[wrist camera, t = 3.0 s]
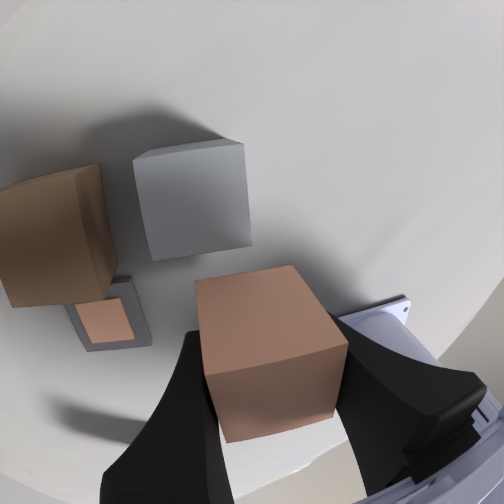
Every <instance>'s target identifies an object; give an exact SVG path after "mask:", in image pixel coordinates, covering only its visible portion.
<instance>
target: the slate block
mask: <svg viewBox="0 0 504 504" xmlns="http://www.w3.org/2000/svg"><path fill="white" fill-rule="evenodd" d="M132 162H133V168H134V175H135V181H136V186H137V192H138V197H139V203H140V208H141V213H142V218H143V223H144V228H145V232H146V237H147V241H148V246H149V250H150V254H151V258H152V262H154V261H160V260H167V259H173V258H179V257H185V256H191V255H198V254H204V253H210V252H216V251H223V250H229V249H235V248H242V247H248V246H252V239H251V227H250V215H249V203H248V191H247V178H246V166H245V154H244V144H242V143H239V142H236V141H233V140H230V139H227V138H225V139H216V140H208V141H200V142H193V143H186V144H179V145H173V146H167V147H161V148H156V149H150V150H148V151H147V152H145V153H143V154H142V155H140V156H138V157H137V158H135V159H134V160H132Z"/></svg>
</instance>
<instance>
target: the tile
mask: <svg viewBox="0 0 504 504" xmlns="http://www.w3.org/2000/svg"><path fill="white" fill-rule="evenodd" d="M64 305H65V308H66V310H67V312H68V314H69V316H70V319H71V321H72V323H73V325H74V327H75V329H76V331H77V333H78V335H79V337H80V339H81V341H82V343H83V345H84V347H85V349H86V351H87V352H92V351H104V350H115V349H125V348H134V347H143V346H151V345H152V338H151V335H150V332H149V330H148V327H147V324H146V321H145V318H144V315H143V312H142V309H141V306H140V303H139V300H138V297H137V294H136V291H135V287H134V284H133V281H132V277H125V278H119V279H113V280H111V283H110V285H109V288H108V290H107V293H106V295H105V298H104V301H95V302H84V303H72V304H64Z"/></svg>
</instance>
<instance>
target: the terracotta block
mask: <svg viewBox="0 0 504 504" xmlns="http://www.w3.org/2000/svg"><path fill="white" fill-rule="evenodd" d="M195 286H196V298H197V310H198V320H199V330H200V340H201V349H202V357H203V366H204V374H205V378H206V381H207V385H208V388H209V391H210V395H211V398H212V401H213V404H214V407H215V410H216V414H217V417H218V420H219V423H220V426H221V429H222V432H223V435H224V437H225V440H226V443H232V442H238V441H243V440H248V439H253V438H258V437H263V436H267V435H272V434H276V433H280V432H284V431H288V430H292V429H295V428H299V427H303V426H306V425H309V424H313V423H316V422H319V421H322V420H326V419H329V418H332V417H333V415H334V411H335V406H336V402H337V398H338V393H339V389H340V384H341V380H342V375H343V370H344V365H345V360H346V354H347V349H348V343H349V342H348V341H347V340H346V338H345V337H344V335H343V334H342V333H341V331H340V330H339V328H338V327H337V326H336V324H335V323H334V321H333V320H332V319H331V317H330V316H329V314H328V313H327V312H326V310H325V309H324V307H323V306H322V305H321V303H320V302H319V300H318V299H317V298H316V296H315V295H314V294H313V292H312V291H311V289H310V288H309V287H308V285H307V284H306V283H305V281H304V280H303V278H302V277H301V276H300V274H299V273H298V272H297V270H296V269H295V268H294V266H293V265H287V266H281V267H275V268H270V269H264V270H258V271H252V272H247V273H241V274H235V275H229V276H223V277H217V278H211V279H205V280H198V281H195Z"/></svg>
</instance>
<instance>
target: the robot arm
mask: <svg viewBox="0 0 504 504" xmlns="http://www.w3.org/2000/svg"><path fill="white" fill-rule="evenodd" d="M410 304H411V300H410V299H409V298H403V299H400V300H397V301H394V302H391V303H387V304H384V305H381V306H377V307H374V308H371V309H367V310H364V311H360V312H356V313H353V314H349V315H345V316H342V317H338V318H337V317H335V316H334V315H332V314H331V313H329V312H328V311H327V310H326V312H327V313H328V314H329V316H330V317H331V319H332V320H333V321H334V323H335V324H336V326H337V327H338V328H339V330H340V331H341V333H342V334H343V335H344V337H345V338H346V340H347V341H348V342H349V343H348V349H347V354H346V360H345V365H344V370H343V375H342V380H341V384H340V389H339V393H338V398H337V402H336V406H335V408H336V410H337V412H338V414H339V416H340V418H341V421H342V423H343V426H344V428H345V431H346V433H347V436H348V438H349V441H350V443H351V446H352V449H353V452H354V454H355V457H356V460H357V463H358V466H359V469H360V473H361V476H362V479H363V483H364V486H365V490H366V494H367V496H368V497H367V498H365V499H363V500H360V501H358V502H355V503H353V504H504V406H503V407H502V406H501V405H500V404H499V402H498V401H497V400H496V399H495V398H494V397H493V396H492V394H491V393H490V392H489V391H488V390H487V387H486V385H485V384H484V383H483V382H482V381H481V380H480V379H479V378H478V376H477V375H476V374H475V373H474V372H466V371H459V370H452V369H447V368H443V367H442V366H441V365H440V364H439V362H438V361H437V360H436V359H435V358H434V357H433V356H432V355H431V353H430V352H429V351H428V350H427V349H426V348H425V347H424V346H423V345H422V344H421V343H420V341H419V340H418V339H417V338H416V337H415V336H414V335H413V334H412V333H411V332H410V331H409V330H408V329H407V328H406V326H405V323H406V319H407V316H408V312H409V308H410ZM100 504H234V500H233V496H232V492H231V488H230V484H229V480H228V476H227V471H226V467H225V462H224V457H223V453H222V448H221V442H220V435H219V423H218V417H217V414H216V410H215V407H214V404H213V401H212V398H211V395H210V391H209V388H208V385H207V381H206V378H205V374H204V366H203V357H202V349H201V340H200V330H196V331H190V332H187V333H186V334H185V339H184V343H183V346H182V350H181V353H180V356H179V359H178V362H177V364H176V367H175V370H174V372H173V375H172V377H171V379H170V381H169V384H168V386H167V388H166V390H165V392H164V394H163V396H162V398H161V400H160V402H159V404H158V405H157V407H156V409H155V411H154V412H153V414H152V415H151V417H150V418H149V420H148V422H147V423H146V425H145V426H144V428H143V429H142V430H141V432H140V433H139V434H138V436H137V437H136V438H135V439H134V441H133V442H132V443H131V444H130V446H129V447H128V448H127V449H126V451H125V452H124V453H123V454H122V455H121V456H120V457H119V458H118V459H117V460H116V461H115V462H114V463H113V464H112V465H111V466H110V467H109V468H108V469H107V470H106V471H105V472H104V473H103V477H102V482H101V487H100Z"/></svg>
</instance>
